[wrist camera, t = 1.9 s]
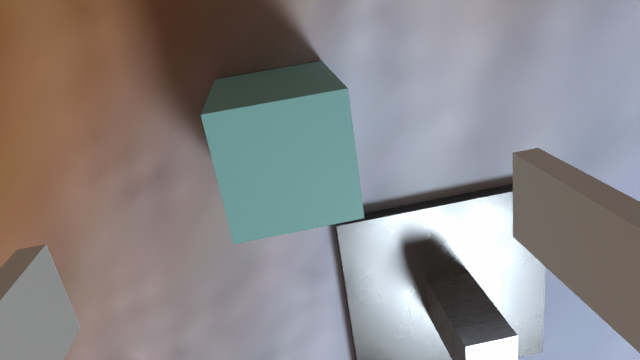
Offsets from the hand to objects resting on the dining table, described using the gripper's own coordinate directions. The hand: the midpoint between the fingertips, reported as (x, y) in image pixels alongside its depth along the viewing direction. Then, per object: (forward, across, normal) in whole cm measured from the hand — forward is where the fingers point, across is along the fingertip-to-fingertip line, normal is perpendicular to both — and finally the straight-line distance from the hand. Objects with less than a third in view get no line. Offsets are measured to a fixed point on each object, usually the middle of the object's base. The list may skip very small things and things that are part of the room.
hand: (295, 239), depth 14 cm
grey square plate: (+12, +8, -12) cm, 18 cm away
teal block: (+11, 0, 0) cm, 11 cm away
